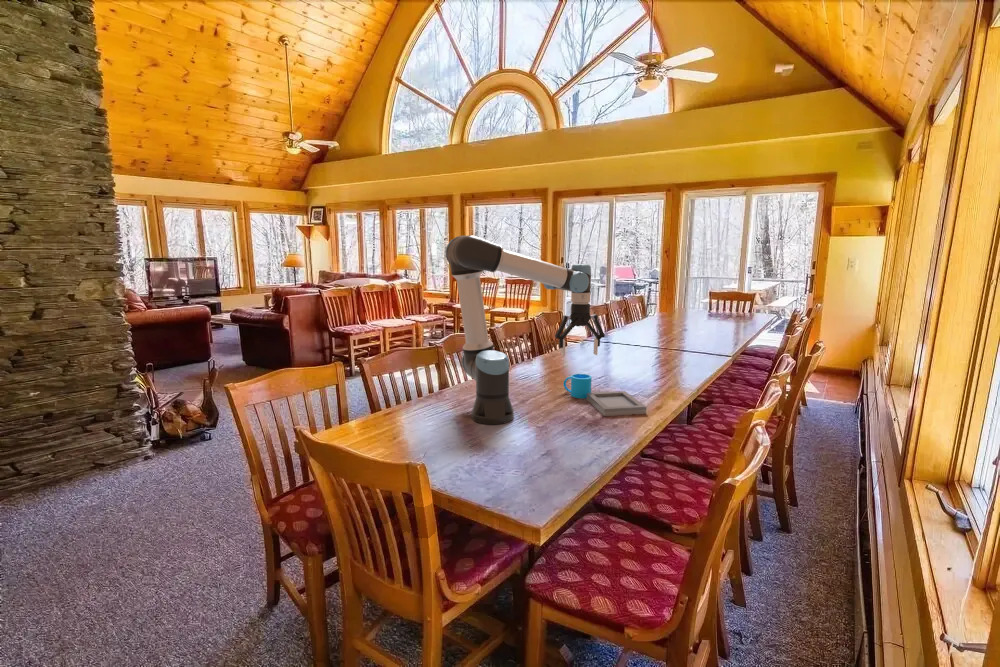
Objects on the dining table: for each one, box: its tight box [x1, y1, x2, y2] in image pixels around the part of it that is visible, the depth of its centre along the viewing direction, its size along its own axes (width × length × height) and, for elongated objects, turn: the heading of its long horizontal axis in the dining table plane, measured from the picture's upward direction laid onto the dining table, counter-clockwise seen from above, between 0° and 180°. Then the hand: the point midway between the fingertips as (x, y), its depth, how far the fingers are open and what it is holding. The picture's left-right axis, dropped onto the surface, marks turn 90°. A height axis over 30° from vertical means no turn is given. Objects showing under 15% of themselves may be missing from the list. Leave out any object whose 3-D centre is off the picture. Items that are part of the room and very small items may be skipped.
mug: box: [563, 373, 592, 399], centre depth 204 cm, size 12×8×8 cm
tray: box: [586, 390, 647, 417], centre depth 189 cm, size 16×20×3 cm
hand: (579, 355), depth 201 cm, fingers open, 13 cm apart
